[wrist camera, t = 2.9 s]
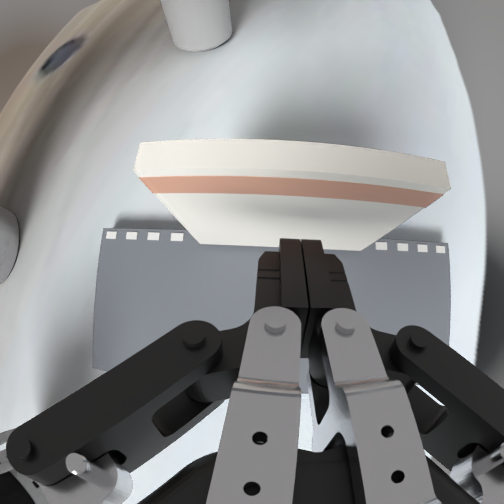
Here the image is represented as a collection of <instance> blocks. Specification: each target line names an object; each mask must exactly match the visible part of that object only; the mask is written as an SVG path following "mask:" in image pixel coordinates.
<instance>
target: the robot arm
mask: <svg viewBox="0 0 504 504" xmlns="http://www.w3.org/2000/svg"><path fill="white" fill-rule="evenodd" d="M18 245H19V228H18V222H17V220H16V217H15V216H14V214H13V213H12V212H10V211H9V210H7V209H5V208H3V207H1V206H0V283H2V282H3V281H4V280H5V279H6V278H7V277H8V275H9V273H10V272H11V270H12V267H13V265H14V263H15V259H16V256H17V251H18ZM347 281H348V280H347V277H346V274H345V270H344V267H343V263H342V262H341V261H340V260H339V259H338V258H337V256H336V255H335V254H324V250H323V246H322V242H321V240H311V239H301V240H300V239H289V238H280V240H279V252H275V251H265V252H264V253H263V254H262V255H261V257H260V258H259V259H258V271H257V282H256V294H255V306H254V312H253V315H252V316H251V318H250V319H249V320H248V321H247V322H246V323H244V324H243V325H241V326H239V327H236V328H232V329H227V330H222V331H219V330H218V329H217V328H216V327H215V326H214V325H212V324H211V323H209V322H206V321H201V320H193V321H187V322H184V323H182V324H180V325H178V326H177V327H175V328H174V329H172V330H171V331H169V332H168V333H166V334H165V335H163V336H162V337H160V338H158V339H157V340H155V341H154V342H152V343H151V344H149V345H148V346H146V347H145V348H143V349H142V350H140V351H139V352H137V353H136V354H134V355H132V356H131V357H129V358H128V359H126V360H125V361H123V362H122V363H120V364H118V365H117V366H115V367H114V368H112V369H111V370H109V371H108V372H106V373H104V374H103V375H101V376H100V377H98V378H97V379H95V380H93V381H92V382H90V383H89V384H87V385H85V386H84V387H82V388H81V389H79V390H78V391H76V392H74V393H73V394H71V395H70V396H68V397H66V398H65V399H63V400H62V401H60V402H58V403H57V404H55V405H53V406H52V407H50V408H49V409H47V410H45V411H44V412H42V413H40V414H39V415H37V416H35V417H34V418H32V419H31V420H29V421H27V422H26V423H24V424H22V425H21V426H19V427H17V428H16V429H14V430H13V431H12V432H11V434H10V435H9V437H8V440H7V444H6V454H7V458H8V460H9V463H10V464H11V466H12V467H13V468H14V469H15V470H16V471H17V472H19V473H20V474H22V475H24V476H26V477H28V478H30V479H32V480H34V481H35V482H36V483H37V484H38V485H39V486H40V488H41V490H42V492H43V493H44V495H45V497H46V499H47V500H48V502H49V504H122V503H123V502H124V501H125V500H126V499H127V498H128V497H129V496H130V494H131V492H132V488H133V482H132V478H131V475H130V473H131V472H132V471H134V470H135V469H137V468H138V467H140V466H141V465H143V464H144V463H145V462H147V461H148V460H150V459H151V458H153V457H154V456H155V455H157V454H158V453H160V452H161V451H162V450H164V449H165V448H166V447H168V446H169V445H170V444H172V443H173V442H174V441H176V440H177V439H178V438H180V437H181V436H182V435H184V434H185V433H186V432H187V431H189V430H190V429H191V428H193V427H194V426H195V425H196V424H198V423H199V422H200V421H201V420H203V419H204V418H205V417H206V416H207V415H209V414H210V413H211V412H212V411H214V410H215V409H216V408H217V407H218V406H220V405H221V404H222V403H223V402H224V400H225V399H229V398H230V400H229V404H228V409H227V413H226V418H225V422H224V427H223V431H222V436H221V440H220V445H219V449H218V452H215V453H211V454H209V455H206V456H203V457H201V458H199V459H197V460H195V461H193V462H192V463H190V464H188V465H187V466H186V467H184V468H183V469H182V470H180V471H179V472H178V473H177V474H176V475H174V476H173V477H172V478H171V479H169V480H168V481H167V482H166V483H164V484H163V485H162V486H160V487H159V488H158V489H156V490H155V491H154V492H153V493H151V494H150V495H148V496H147V497H146V498H144V499H143V500H142V501H140V502H139V503H137V504H504V389H503V388H502V387H500V386H499V385H498V384H497V383H495V382H494V381H493V380H492V379H490V378H489V377H488V376H487V375H485V374H484V373H483V372H482V371H480V370H479V369H478V368H476V367H475V366H474V365H473V364H471V363H470V362H469V361H468V360H466V359H465V358H464V357H462V356H461V355H460V354H458V353H457V352H456V351H455V350H453V349H452V348H451V347H449V346H448V345H447V344H445V343H444V342H443V341H441V340H440V339H439V338H437V337H436V336H435V335H433V334H432V333H431V332H429V331H428V330H426V329H425V328H422V327H420V326H416V325H409V326H405V327H403V328H401V329H400V330H399V331H398V333H397V335H393V334H389V333H385V332H381V331H377V330H375V329H372V328H371V327H369V324H368V322H367V320H366V319H365V318H364V317H363V316H362V315H361V314H360V313H358V312H356V308H355V304H354V301H353V297H352V294H351V290H350V287H349V283H348V282H347ZM300 358H308V359H309V369H308V373H307V385H308V392H309V399H310V407H311V414H312V421H313V437H312V452H311V451H306V450H302V449H298V438H299V424H300V409H301V388H299V371H300ZM416 383H418V384H419V385H420V386H422V387H423V388H424V389H425V390H426V391H428V392H429V393H430V394H431V395H433V396H434V397H435V398H436V399H437V400H439V401H440V402H441V403H442V404H444V405H445V406H441V405H439V404H438V403H437V402H435V401H434V400H433V399H432V398H430V397H429V396H428V395H427V394H426V393H424V392H423V391H422V390H421V389H420V388H418V387H417V386H416V385H415V384H416ZM424 450H426V451H427V452H428V453H429V454H430V455H432V456H433V457H434V458H435V459H436V460H438V461H439V462H440V463H441V464H442V465H444V466H445V467H446V468H447V469H449V470H450V471H451V475H450V476H449V475H447V474H446V473H445V472H444V471H443V470H442V469H441V468H440V467H438V466H437V465H436V464H435V463H434V462H433V461H432V460H431V459H430V458H428V457H427V456H426V455H425V452H424Z"/></svg>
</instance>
